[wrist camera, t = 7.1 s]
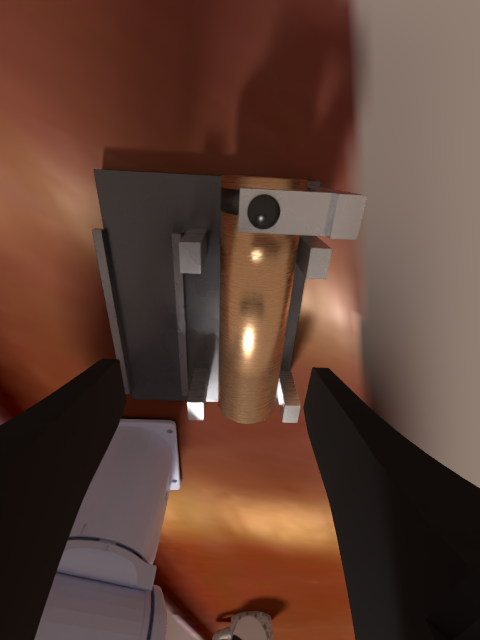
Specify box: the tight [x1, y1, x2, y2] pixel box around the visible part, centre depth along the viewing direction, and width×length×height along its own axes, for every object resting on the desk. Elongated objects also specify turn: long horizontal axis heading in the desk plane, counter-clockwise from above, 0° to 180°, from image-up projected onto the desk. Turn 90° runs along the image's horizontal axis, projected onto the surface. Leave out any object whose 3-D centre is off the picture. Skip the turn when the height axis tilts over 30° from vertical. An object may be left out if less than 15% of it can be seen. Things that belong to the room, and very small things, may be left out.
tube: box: [218, 175, 308, 424], centre depth 16 cm, size 14×4×4 cm, turn 177°
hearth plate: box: [92, 169, 321, 404], centre depth 19 cm, size 16×12×2 cm
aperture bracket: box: [238, 186, 367, 240], centre depth 13 cm, size 2×4×6 cm, turn 87°
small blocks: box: [179, 228, 332, 423], centre depth 17 cm, size 12×7×4 cm, turn 177°
